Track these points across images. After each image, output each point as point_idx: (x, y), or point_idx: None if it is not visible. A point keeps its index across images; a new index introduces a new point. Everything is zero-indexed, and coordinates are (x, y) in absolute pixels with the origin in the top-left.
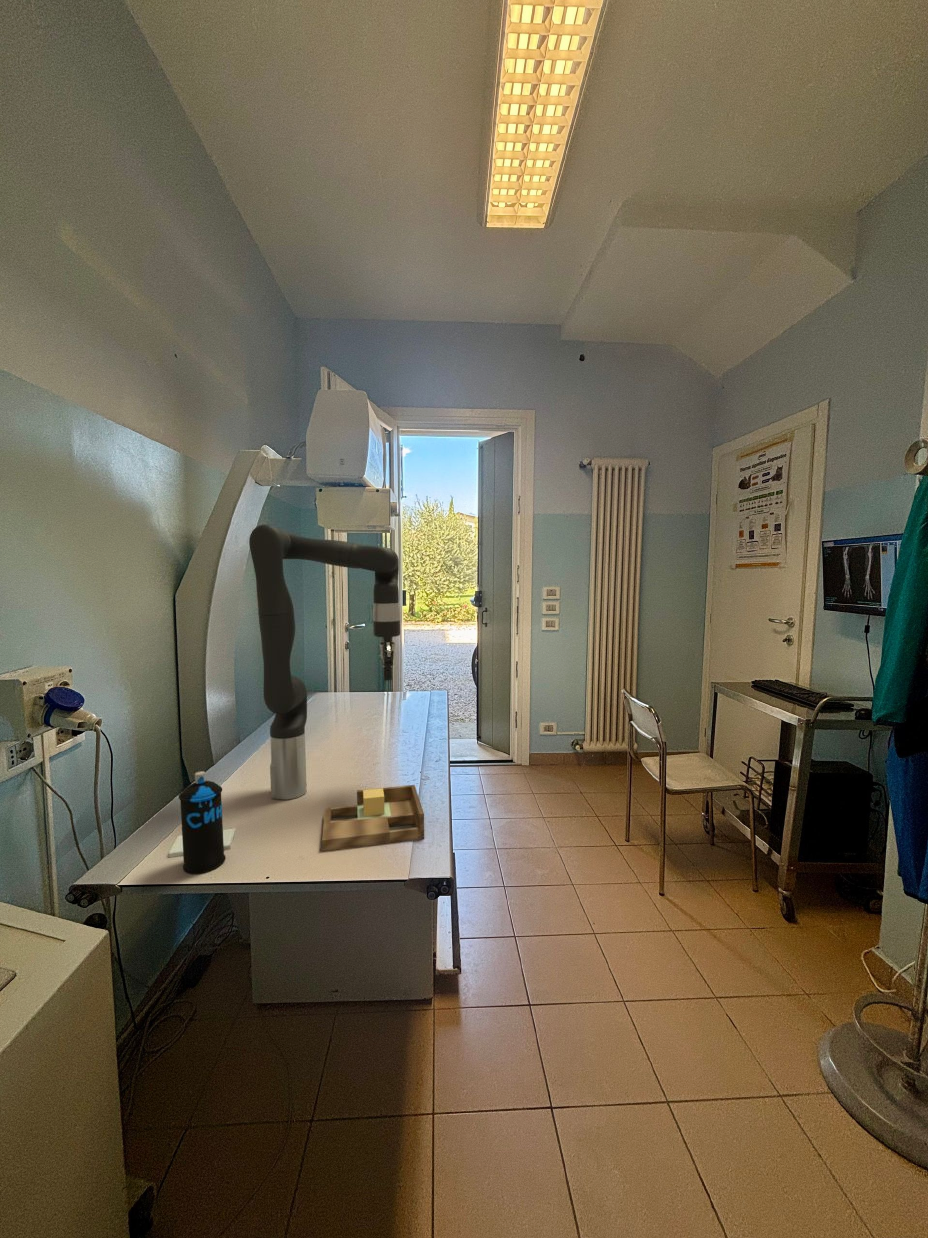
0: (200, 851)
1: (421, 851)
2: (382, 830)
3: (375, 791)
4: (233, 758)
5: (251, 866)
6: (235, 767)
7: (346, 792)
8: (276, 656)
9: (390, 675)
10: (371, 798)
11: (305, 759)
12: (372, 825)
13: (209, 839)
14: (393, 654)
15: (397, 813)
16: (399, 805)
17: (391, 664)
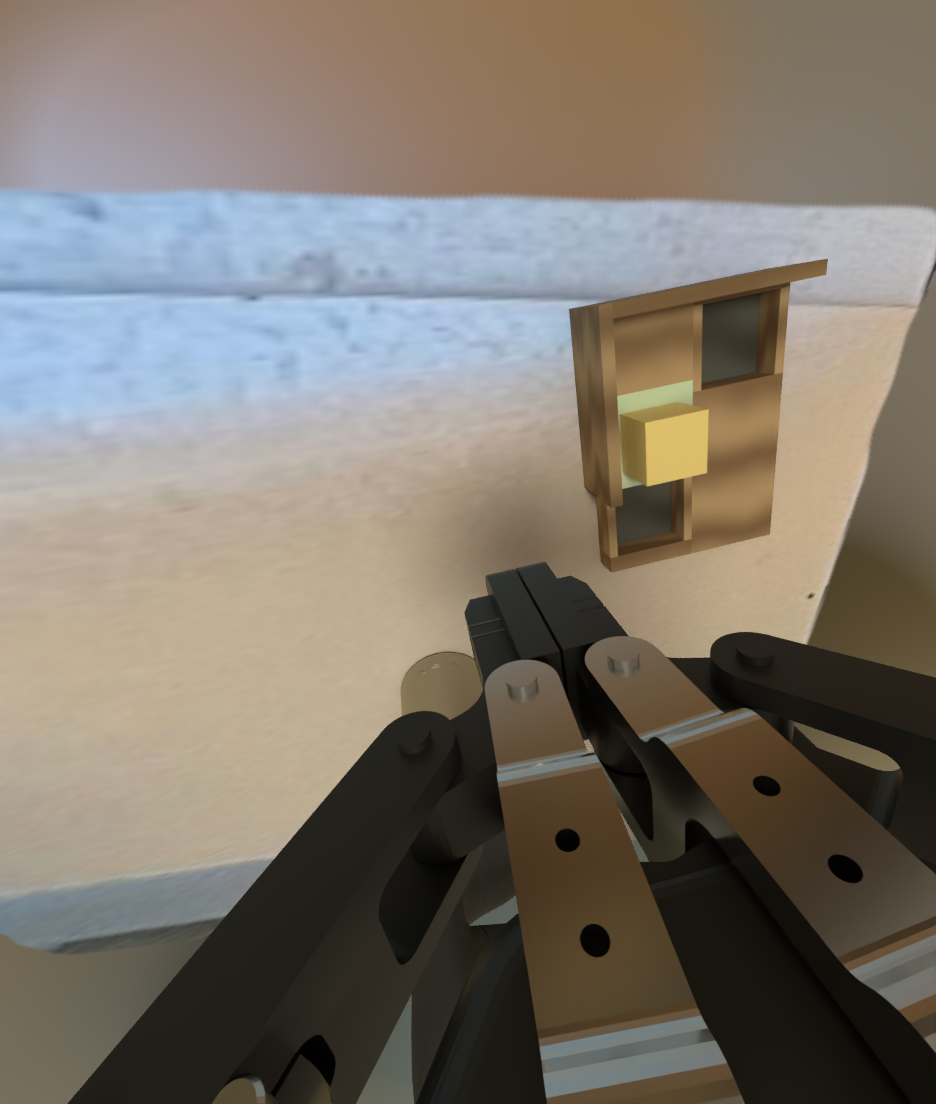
0: None
1: (826, 276)
2: (768, 394)
3: (665, 444)
4: (201, 898)
5: None
6: None
7: (445, 547)
8: None
9: (593, 594)
10: (706, 449)
11: (449, 717)
12: (734, 427)
13: (801, 732)
14: (828, 787)
15: (682, 360)
16: (631, 359)
17: (793, 660)
